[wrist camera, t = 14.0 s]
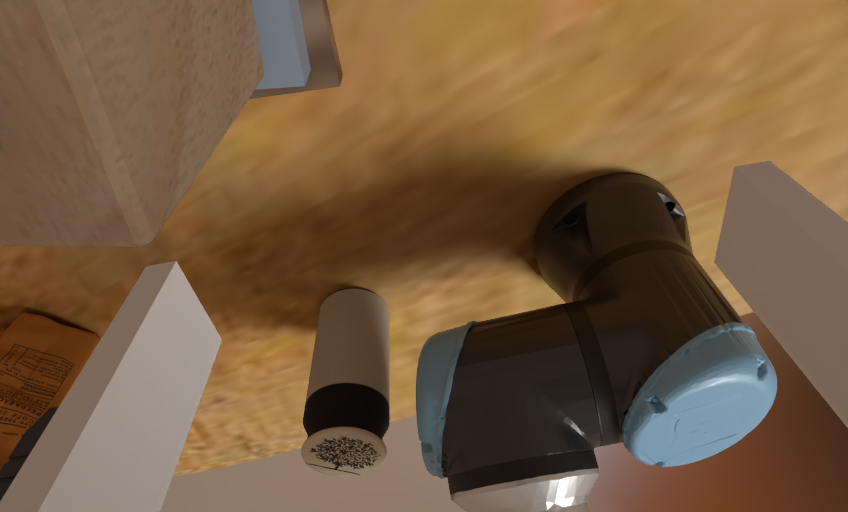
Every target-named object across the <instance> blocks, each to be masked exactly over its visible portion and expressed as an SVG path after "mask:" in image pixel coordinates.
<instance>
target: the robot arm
mask: <svg viewBox="0 0 848 512" xmlns="http://www.w3.org/2000/svg"><path fill="white" fill-rule="evenodd" d="M534 254H535V258H536V261H537V264H538V267H539V270H540V272H541V275H542V276H543V278H544V280H545V281H546V283H547V284H548V285H549V286H550V287H551V288H552V289H553V290H554V291H555V292H556V293H557V294H558V295H559V296H560V297H561V298H562V299H563V300H564V301H565V302H566V303H565V304H559V305H555V306H550V307H545V308H541V309H536V310H532V311H527V312H523V313H518V314H514V315H509V316H505V317H500V318H495V319H491V320H486V321H481V322H476V321H471V322H468V323H467V324H466V325H464V326H460V327H457V328H453V329H449V330H446V331H442V332H438V333H436V334H434V335H433V336H431V337H430V338H429V339H428V340H427V341H426V342H425V344H424V346H423V348H422V351H421V354H420V357H419V361H418V368H417V378H416V412H417V425H418V434H419V439H420V441H422V442H421V446H422V456H423V460H424V463H425V466H426V468H427V470H428V471H429V473H430V474H432V475H433V476H438V477H439V478H446V477H448V483H449V489H450V495H451V500H453V501H454V502H455V503H456V504H458V505H459V506H460V507H461V508H463V509H464V510H465V511H467V512H590V511H589V507H588V504H587V500H588V495H589V492H590V491H591V489H592V487H593V485H594V483H595V481H596V479H597V478H598V476H599V474H600V471H599V468H598V464H597V461H596V457H595V454H594V448H595V447H599V446H605V445H610V444H616V443H621V442H623V443H624V445H625V447H626V448H627V449H628V451H629V452H630V453H632V455H633V456H634V457H635V458H636V459H638V460H639V461H641V462H643V463H645V464H648V465H653V464H656V465H658V466H662V467H671V466H679V465H685V464H688V463H692V462H696V461H699V460H701V459H704V458H707V457H710V456H712V455H714V454H717V453H718V452H720V451H722V450H724V449H726V448H728V447H730V446H731V445H733V444H734V443H736V442H738V441H739V440H740V439H742V438H743V437H744V436H745V435H746V434H748V433H749V432H750V431H752V430H753V429H754V428H755V427H756V426H757V425H758V424H759V423H760V422H761V421H762V420H763V418H764V417H765V416H766V414H767V413H768V411H769V410H770V408H771V406H772V404H773V401H774V399H775V395H776V391H777V378H776V373H775V370H774V368H773V366H772V364H771V362H770V361H769V359H768V357H767V356H766V354H765V353H764V351H763V349H762V348H761V346H760V345H759V343H758V341H757V338H756V335H755V334H754V331H753V330H752V329H751V328H750V327H749V326H748V325H746V324H745V323H744V322H743V321H742V319H741V318H740V316H739V315H738V314H737V312H736V311H735V310H734V309H733V307H732V306H731V305H730V303H729V302H728V301H727V299H726V298H725V297H724V295H723V294H722V293H721V291H720V290H719V289H718V287H717V286H716V285H715V283H714V282H713V281H712V279H711V278H710V277H709V276H708V274H707V273H706V272H705V270H704V269H703V268H702V266H701V265H700V264H699V263H698V261H697V260H696V258H695V257H694V256H693V252H692V247H691V241H690V236H689V230H688V225H687V220H686V216H685V214H684V211H683V209H682V207H681V206H680V204H679V203H678V201H677V200H676V199H675V198H674V196H673V195H672V194H671V193H670V191H669V190H668V189H667V188H666V187H665V186H663V185H662V184H661V183H659V182H657V181H656V180H654V179H652V178H649V177H646V176H642V175H638V174H628V173H620V174H611V175H605V176H601V177H597V178H594V179H591V180H589V181H586V182H584V183H582V184H580V185H578V186H576V187H574V188H573V189H571V190H569V191H568V192H567V193H565V194H564V195H563V196H561V197H560V198H559V199H558V200H557V201H556V202H555V203H554V204H553V205H552V206H551V207H550V208H549V209H548V211H547V212H546V213H545V215H544V216H543V218H542V219H541V221H540V223H539V225H538V228H537V231H536V234H535V239H534ZM714 263H715V264H716V265H717V266H718V268H719V269H720V270H721V271H722V273H723V274H724V275H725V276H726V278H727V279H728V280H729V281H730V282H731V284H732V285H733V286H734V287H735V289H736V290H737V291H738V292H739V294H740V295H741V296H742V297H743V299H744V300H745V301H746V302H747V304H748V305H749V306H750V307H751V309H752V310H753V311H754V312H755V313H756V315H757V316H758V317H759V318H760V320H761V321H762V322H763V323H764V325H765V326H766V327H767V328H768V330H769V331H770V332H771V333H772V335H773V336H774V337H775V338H776V340H777V341H778V342H779V343H780V345H781V346H782V347H783V348H784V349H785V351H786V352H787V353H788V354H789V356H790V357H791V358H792V359H793V361H794V362H795V363H796V364H797V366H798V367H799V368H800V369H801V370H802V372H803V373H804V374H805V375H806V377H807V378H808V379H809V380H810V382H811V383H812V384H813V385H814V387H815V388H816V389H817V390H818V392H819V393H820V394H821V395H822V397H823V398H824V399H825V400H826V402H827V403H828V404H829V405H830V407H831V408H832V409H833V410H834V411H835V413H836V414H837V415H838V416H839V418H840V419H841V420H842V421H843V423H844V424H845V425H846V426H847V427H848V222H847V221H845V220H844V219H843V218H841V217H840V216H839V215H838V214H836V213H835V212H834V211H833V210H831V209H830V208H829V207H827V206H826V205H825V204H824V203H822V202H821V201H820V200H819V199H817V198H816V197H815V196H813V195H812V194H811V193H810V192H808V191H807V190H806V189H805V188H803V187H802V186H801V185H800V184H798V183H797V182H796V181H794V180H793V179H792V178H791V177H789V176H788V175H787V174H786V173H784V172H783V171H782V170H780V169H779V168H778V167H777V166H775V165H774V164H773V163H772V162H770V161H766V162H760V163H754V164H749V165H743V166H737V167H734V172H733V176H732V181H731V186H730V191H729V195H728V200H727V205H726V210H725V214H724V219H723V224H722V228H721V233H720V238H719V243H718V247H717V252H716V257H715V261H714ZM221 341H222V339H221V337H220V335H219V334H218V332H217V330H216V329H215V327H214V325H213V323H212V322H211V320H210V318H209V316H208V315H207V313H206V311H205V310H204V308H203V306H202V304H201V303H200V301H199V299H198V298H197V296H196V294H195V292H194V291H193V289H192V287H191V285H190V284H189V282H188V280H187V279H186V277H185V275H184V273H183V272H182V270H181V268H180V267H179V265H178V263H177V261H174V262H168V263H162V264H156V265H150V266H146V267H145V269H144V270H143V272H142V274H141V275H140V277H139V278H138V280H137V282H136V283H135V285H134V286H133V288H132V290H131V291H130V293H129V295H128V296H127V298H126V299H125V301H124V303H123V304H122V306H121V307H120V309H119V311H118V312H117V314H116V316H115V317H114V319H113V320H112V322H111V324H110V325H109V327H108V328H107V330H106V332H105V333H104V335H103V336H102V338H101V340H100V341H99V343H98V345H97V346H96V348H95V349H94V351H93V353H92V354H91V356H90V357H89V359H88V361H87V362H86V364H85V366H84V367H83V369H82V370H81V372H80V374H79V375H78V377H77V378H76V380H75V382H74V383H73V385H72V387H71V388H70V390H69V391H68V393H67V395H66V396H65V398H64V399H63V401H62V403H61V404H60V406H58V407H52V408H49V409H48V410H47V411H46V412H45V413H44V414H43V415H42V416H41V417H40V418H39V419H38V420H37V421H36V422H35V423H34V424H33V425H32V426H31V427H30V428H29V429H28V430H27V431H26V432H25V433H24V435H23V436H22V438H21V439H20V441H19V442H18V444H17V445H16V447H15V448H14V450H13V452H12V453H11V455H10V456H9V462H7V463H5V464H4V465H3V467H2V468H1V470H0V512H160V510H161V507H162V504H163V501H164V498H165V496H166V493H167V490H168V487H169V485H170V482H171V479H172V476H173V474H174V471H175V468H176V465H177V463H178V460H179V457H180V454H181V452H182V449H183V446H184V443H185V441H186V438H187V435H188V432H189V430H190V427H191V424H192V421H193V419H194V416H195V413H196V410H197V408H198V405H199V402H200V399H201V397H202V394H203V391H204V388H205V386H206V383H207V380H208V377H209V375H210V372H211V369H212V366H213V364H214V361H215V358H216V355H217V352H218V350H219V347H220V344H221Z"/></svg>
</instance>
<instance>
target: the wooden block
mask: <svg viewBox="0 0 848 512" xmlns="http://www.w3.org/2000/svg"><path fill="white" fill-rule="evenodd" d="M263 77H264V67H263V61H262V55H261V50H260V44H259V38H258V33H257V27H256V21H255V16H254V10H253V4H252V0H0V246H86V247H141V246H144V245H147V244H149V243H150V242H152V241H153V239H154V238H155V236H156V235H157V233H158V232H159V230H160V229H161V227H162V226H163V224H164V223H165V221H166V220H167V218H168V217H169V216H170V214H171V213H172V211H173V210H174V208H175V207H176V205H177V204H178V202H179V201H180V199H181V198H182V196H183V195H184V193H185V192H186V190H187V189H188V188H189V186H190V185H191V183H192V182H193V180H194V179H195V177H196V176H197V174H198V173H199V171H200V170H201V168H202V167H203V165H204V164H205V163H206V161H207V160H208V158H209V157H210V155H211V154H212V152H213V151H214V149H215V148H216V146H217V145H218V143H219V142H220V140H221V139H222V138H223V136H224V135H225V133H226V132H227V130H228V129H229V127H230V126H231V124H232V123H233V121H234V120H235V118H236V117H237V115H238V114H239V113H240V111H241V110H242V108H243V107H244V105H245V104H246V102H247V101H248V99H249V98H250V96H251V95H252V93H253V92H254V90H255V89H256V87H257V86H258V85H259V83H260V82H261V80H262V79H263Z"/></svg>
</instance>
